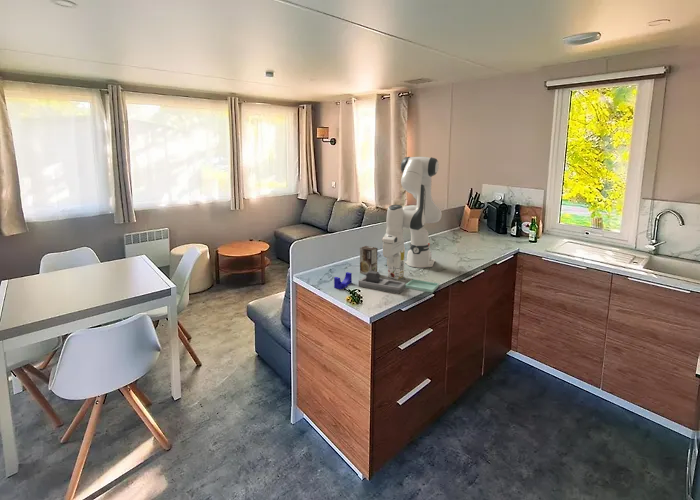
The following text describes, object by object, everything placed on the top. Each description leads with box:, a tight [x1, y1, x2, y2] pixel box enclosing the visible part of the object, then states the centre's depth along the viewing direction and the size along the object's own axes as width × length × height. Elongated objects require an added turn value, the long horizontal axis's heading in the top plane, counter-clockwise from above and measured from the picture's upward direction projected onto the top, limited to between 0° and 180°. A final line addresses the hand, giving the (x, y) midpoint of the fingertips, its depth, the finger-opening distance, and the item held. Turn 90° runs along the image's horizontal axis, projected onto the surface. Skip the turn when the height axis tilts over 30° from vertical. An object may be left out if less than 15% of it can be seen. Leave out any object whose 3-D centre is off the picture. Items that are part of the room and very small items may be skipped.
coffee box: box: [359, 245, 378, 275], centre depth 234 cm, size 9×6×16 cm
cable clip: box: [333, 271, 353, 290], centre depth 214 cm, size 12×4×6 cm, turn 144°
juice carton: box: [387, 245, 406, 281], centre depth 226 cm, size 8×9×19 cm
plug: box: [386, 254, 401, 267], centre depth 204 cm, size 4×6×6 cm
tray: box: [405, 278, 440, 294], centre depth 212 cm, size 12×16×2 cm
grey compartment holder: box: [358, 271, 407, 295], centre depth 211 cm, size 10×24×8 cm, turn 61°
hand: (393, 261), depth 204 cm, fingers closed on plug, 4 cm apart
